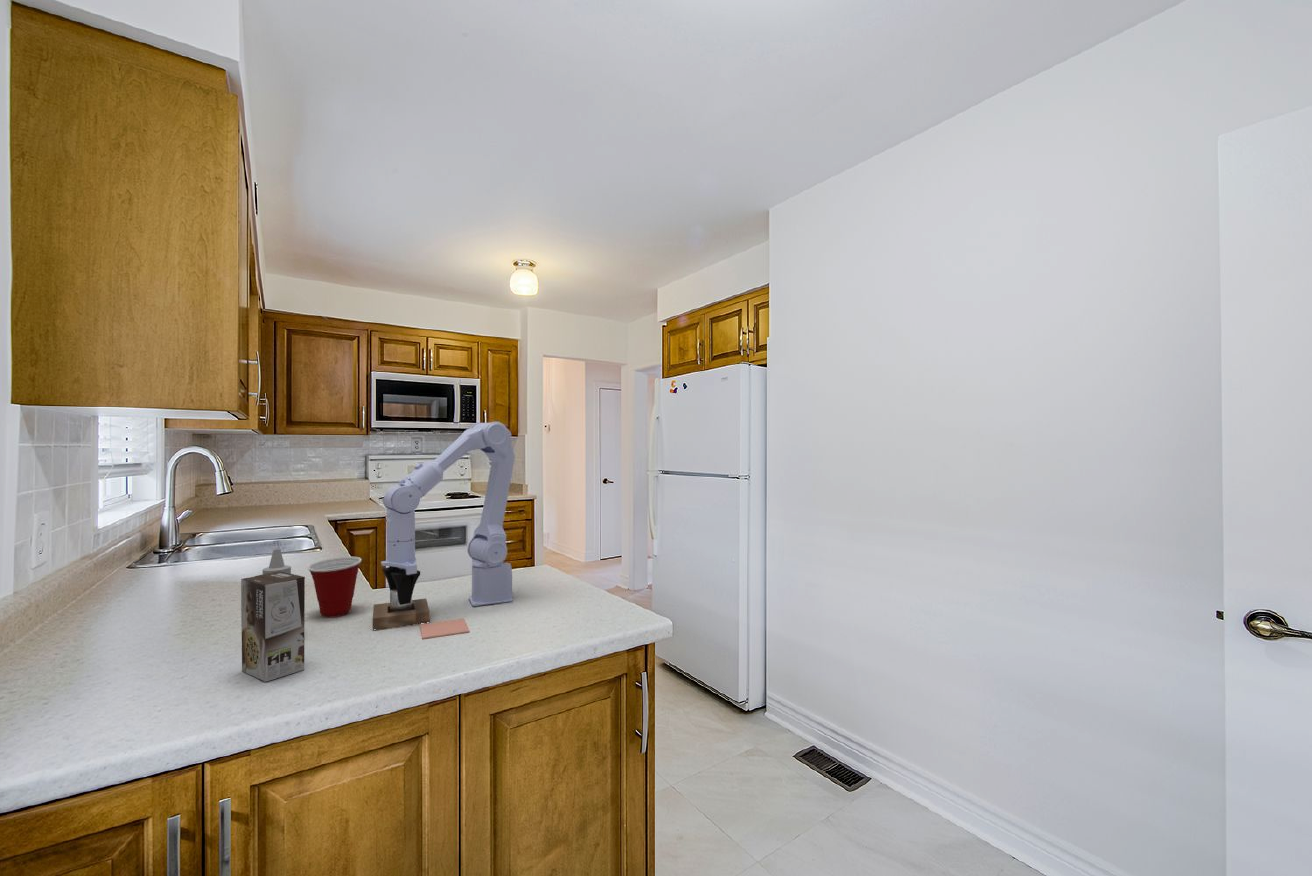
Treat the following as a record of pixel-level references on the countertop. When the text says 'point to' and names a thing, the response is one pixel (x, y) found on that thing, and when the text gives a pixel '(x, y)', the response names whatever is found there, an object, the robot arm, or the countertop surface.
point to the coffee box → (272, 625)
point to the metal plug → (395, 603)
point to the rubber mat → (443, 628)
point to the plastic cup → (335, 584)
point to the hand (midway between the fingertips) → (401, 601)
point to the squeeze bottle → (277, 563)
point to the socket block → (400, 615)
